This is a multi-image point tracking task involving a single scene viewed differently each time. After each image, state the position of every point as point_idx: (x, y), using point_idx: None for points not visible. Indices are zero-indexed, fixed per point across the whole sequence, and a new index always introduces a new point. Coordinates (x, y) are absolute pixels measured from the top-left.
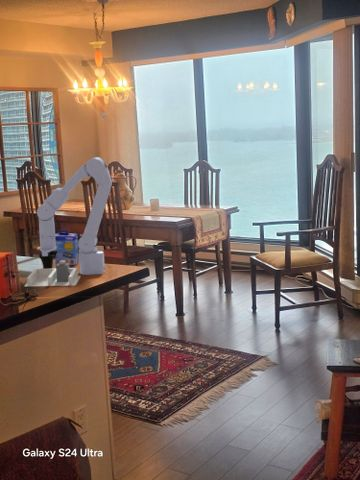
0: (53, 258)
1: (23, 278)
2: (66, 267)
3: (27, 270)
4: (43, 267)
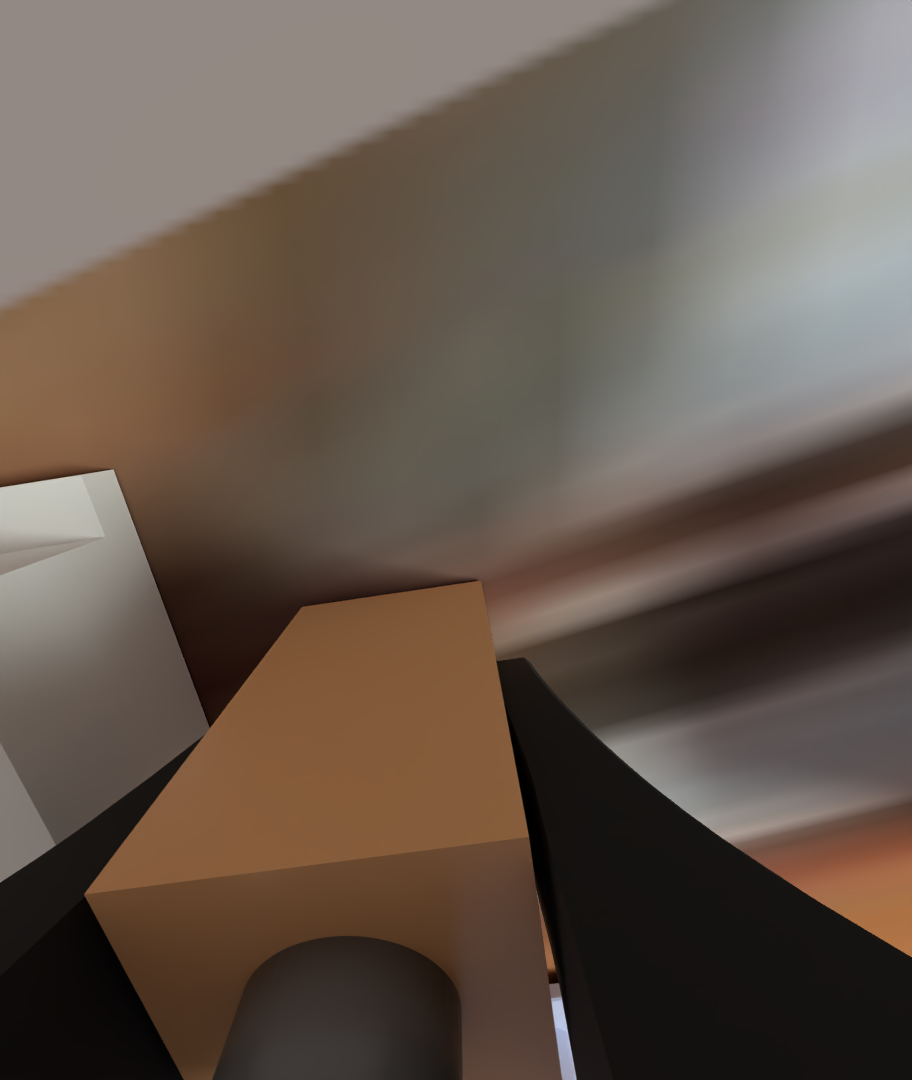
0: (577, 1072)
1: (108, 258)
2: None
3: (868, 28)
4: (226, 724)
